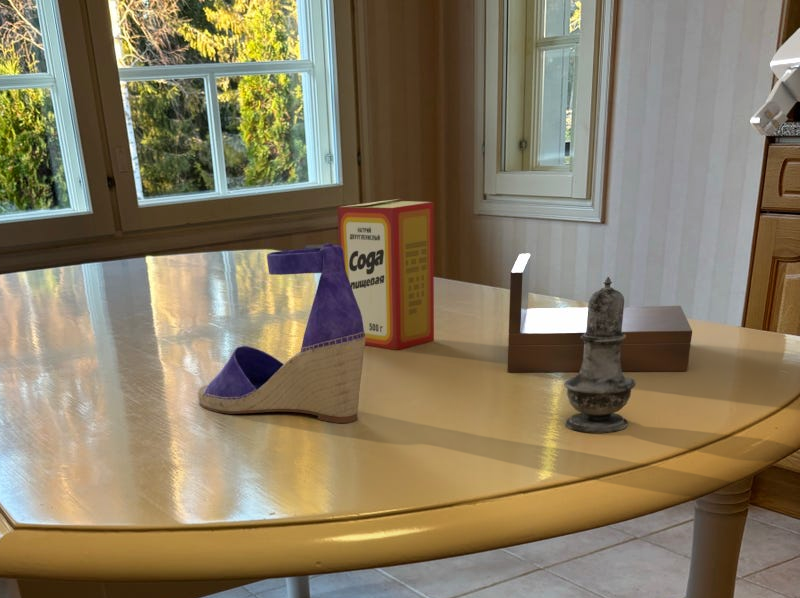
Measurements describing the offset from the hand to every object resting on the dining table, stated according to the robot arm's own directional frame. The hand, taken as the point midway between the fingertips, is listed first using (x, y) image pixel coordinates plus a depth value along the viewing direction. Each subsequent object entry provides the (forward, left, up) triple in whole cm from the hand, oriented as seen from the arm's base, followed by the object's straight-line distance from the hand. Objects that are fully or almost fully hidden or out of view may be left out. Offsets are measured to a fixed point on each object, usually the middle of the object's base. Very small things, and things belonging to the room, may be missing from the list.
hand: (787, 129), depth 69 cm
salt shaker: (+12, +3, -22) cm, 25 cm away
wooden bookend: (+12, -23, -22) cm, 34 cm away
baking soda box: (+37, -33, -22) cm, 55 cm away
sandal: (+42, -1, -22) cm, 47 cm away
